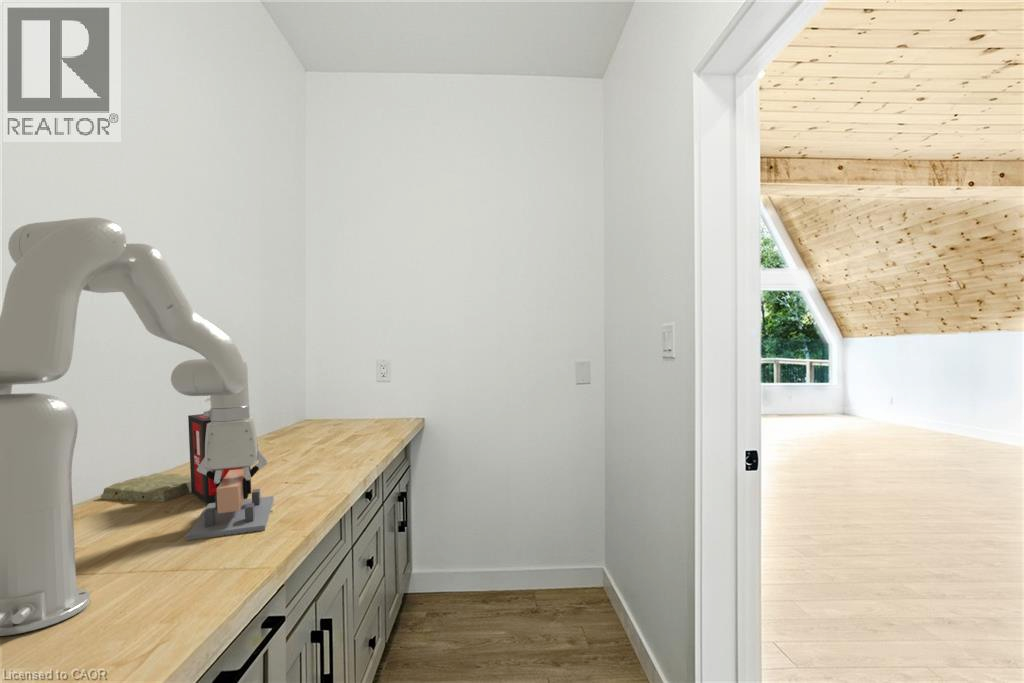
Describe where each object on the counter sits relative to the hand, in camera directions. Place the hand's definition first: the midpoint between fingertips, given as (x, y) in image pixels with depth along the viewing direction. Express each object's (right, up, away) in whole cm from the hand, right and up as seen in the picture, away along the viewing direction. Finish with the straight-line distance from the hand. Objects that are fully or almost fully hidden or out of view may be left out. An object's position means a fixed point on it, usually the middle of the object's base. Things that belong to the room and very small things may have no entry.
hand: (234, 497), depth 127 cm
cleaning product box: (-14, -5, +21) cm, 26 cm away
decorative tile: (-33, -6, +27) cm, 43 cm away
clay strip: (0, -1, 0) cm, 1 cm away
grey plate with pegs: (0, -4, 0) cm, 4 cm away
